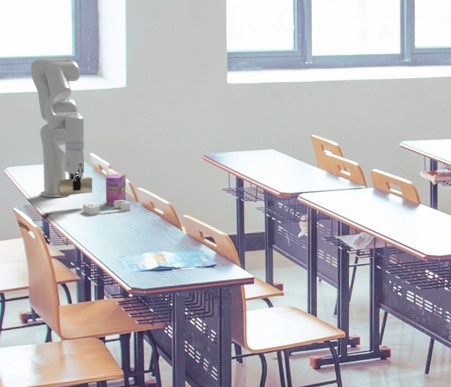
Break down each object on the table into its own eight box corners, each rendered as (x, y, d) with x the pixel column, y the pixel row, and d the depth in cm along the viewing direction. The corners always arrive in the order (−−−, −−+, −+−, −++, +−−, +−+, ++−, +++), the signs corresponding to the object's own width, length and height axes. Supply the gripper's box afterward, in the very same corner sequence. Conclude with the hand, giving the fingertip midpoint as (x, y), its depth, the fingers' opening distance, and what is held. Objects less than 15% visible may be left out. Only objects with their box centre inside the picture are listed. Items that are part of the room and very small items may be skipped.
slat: (58, 194, 418) (57, 180, 417) (89, 190, 426) (88, 176, 424) (61, 196, 416) (60, 181, 414) (92, 192, 423) (92, 178, 422)
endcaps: (83, 211, 413) (82, 204, 413) (122, 207, 423) (122, 199, 423) (91, 215, 407) (91, 208, 406) (131, 210, 416) (131, 203, 416)
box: (119, 205, 426) (118, 177, 424) (106, 204, 428) (105, 177, 425) (126, 200, 436) (125, 173, 434) (113, 200, 438) (113, 173, 435)
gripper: (57, 143, 421) (58, 186, 425) (74, 149, 408) (75, 194, 412) (74, 141, 425) (75, 184, 429) (91, 148, 412) (92, 192, 416)
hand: (75, 188), depth 420 cm, fingers closed on slat, 2 cm apart
